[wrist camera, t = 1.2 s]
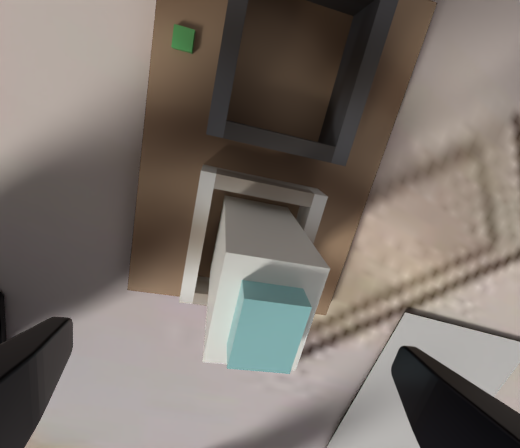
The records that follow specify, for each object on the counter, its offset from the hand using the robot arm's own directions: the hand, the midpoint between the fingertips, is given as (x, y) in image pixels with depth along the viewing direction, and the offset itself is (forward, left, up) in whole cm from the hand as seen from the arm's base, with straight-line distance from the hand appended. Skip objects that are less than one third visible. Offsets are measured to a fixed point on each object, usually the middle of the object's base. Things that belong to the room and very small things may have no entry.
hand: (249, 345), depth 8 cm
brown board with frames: (+4, -1, -12) cm, 13 cm away
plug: (-1, -1, -11) cm, 11 cm away
